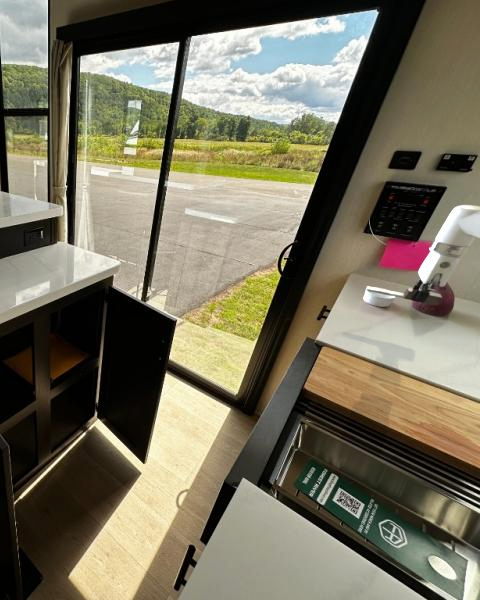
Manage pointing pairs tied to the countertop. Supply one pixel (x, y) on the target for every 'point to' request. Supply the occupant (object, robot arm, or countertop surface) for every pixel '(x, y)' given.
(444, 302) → the vegetable
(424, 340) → the countertop surface
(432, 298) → the knife
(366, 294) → the ramekin
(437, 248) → the robot arm
